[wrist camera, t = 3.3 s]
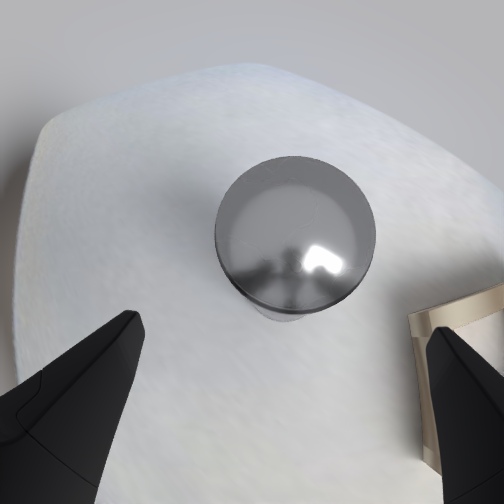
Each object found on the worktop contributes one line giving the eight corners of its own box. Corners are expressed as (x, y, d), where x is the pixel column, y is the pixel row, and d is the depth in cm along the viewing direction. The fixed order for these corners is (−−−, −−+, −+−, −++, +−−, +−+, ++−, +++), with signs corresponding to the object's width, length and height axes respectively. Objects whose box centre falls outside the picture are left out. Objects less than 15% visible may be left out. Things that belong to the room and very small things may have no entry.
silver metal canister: (254, 329, 18) (225, 327, 8) (241, 256, 19) (203, 169, 9) (328, 315, 18) (396, 292, 8) (313, 243, 19) (352, 144, 9)
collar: (423, 461, 15) (442, 476, 12) (407, 314, 18) (428, 311, 15) (527, 403, 15) (549, 407, 12) (514, 277, 17) (538, 269, 15)
